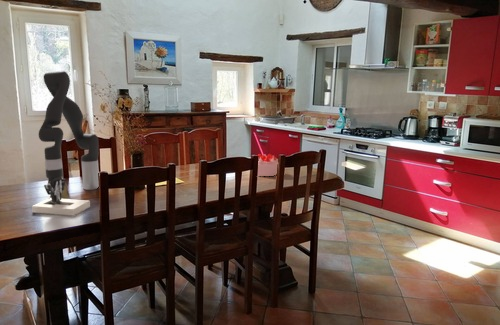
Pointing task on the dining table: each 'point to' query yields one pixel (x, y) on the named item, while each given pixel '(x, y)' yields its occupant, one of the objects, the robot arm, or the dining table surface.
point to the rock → (64, 193)
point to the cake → (267, 165)
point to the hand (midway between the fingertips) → (56, 200)
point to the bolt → (57, 196)
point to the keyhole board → (61, 207)
